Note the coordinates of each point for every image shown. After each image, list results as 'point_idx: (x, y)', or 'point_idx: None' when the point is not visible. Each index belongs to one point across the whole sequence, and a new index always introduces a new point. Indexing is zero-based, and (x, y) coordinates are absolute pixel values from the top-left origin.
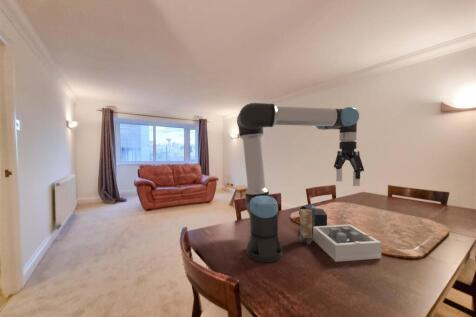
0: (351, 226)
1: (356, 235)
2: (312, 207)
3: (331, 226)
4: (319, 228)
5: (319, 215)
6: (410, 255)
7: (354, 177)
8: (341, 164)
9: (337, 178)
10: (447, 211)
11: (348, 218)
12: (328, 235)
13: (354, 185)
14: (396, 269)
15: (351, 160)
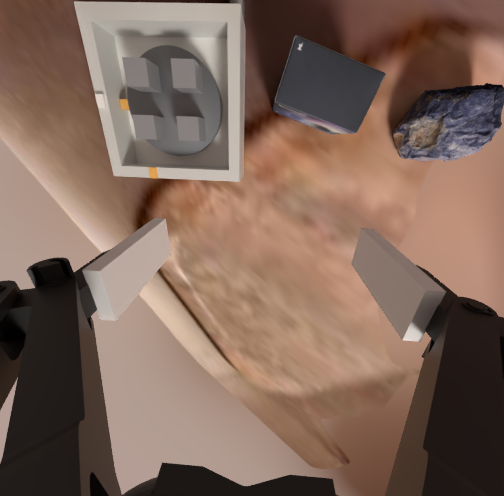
0: (222, 172)
1: (135, 126)
2: (453, 139)
3: (230, 96)
4: (228, 34)
5: (286, 63)
6: None
7: (117, 245)
8: (424, 381)
9: (371, 239)
10: (319, 443)
11: None
12: (198, 61)
13: (152, 221)
14: (96, 167)
15: (9, 441)
